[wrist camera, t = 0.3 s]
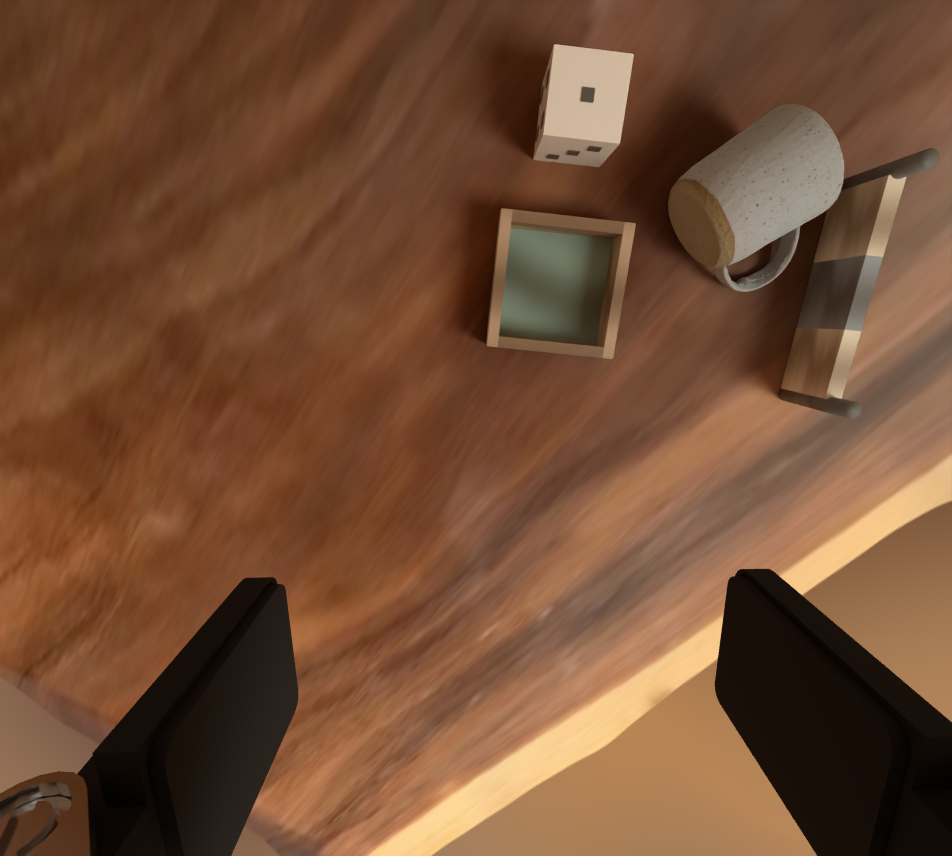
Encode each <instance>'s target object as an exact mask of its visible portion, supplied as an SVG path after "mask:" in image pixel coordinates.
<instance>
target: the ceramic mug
mask: <svg viewBox="0 0 952 856" xmlns="http://www.w3.org/2000/svg"><path fill="white" fill-rule="evenodd" d="M843 180H844V160H843V155H842V151H841V149H840V144H839V142H838V140H837V137H836V136H835V134H834V132H833V131H832V129H831V128H830V126H829V125H828V124H827V123H826V121H825V120H824V119H823V118H822V117H821V116H820V115H819V114H817V113H816V112H815V111H813V110H812V109H809V108H807V107H805V106H802V105H799V104H784V105H781V106H778V107H776V108H774V109H772V110H771V111H769V112H768V113H766V114H765V115H764V116H762V117H761V118H760V119H758V120H757V121H756V122H754V123H753V124H751V125H750V126H749V127H747V128H746V129H744V130H743V131H741V132H740V133H739V134H737V135H736V136H734V137H733V138H731V139H730V140H729V141H727V142H726V143H725V144H723V145H722V146H721V147H719V148H718V149H716V150H715V151H714V152H712V153H711V154H709V155H708V156H707V157H705V158H704V159H702V160H701V161H699V162H698V163H696V164H695V165H694V166H692V167H691V168H690V169H689V170H688V171H687V172H686V173H685V174H683V175H682V176H681V177H680V178H679V179H678V180H677V181H676V183H675V184H674V185H673V187H672V188H671V191H670V195H669V201H668V212H669V217H670V221H671V223H672V226H673V229H674V231H675V233H676V235H677V237H678V239H679V241H680V242H681V244H682V245H683V247H684V248H685V250H686V251H687V252H688V253H689V254H690V255H691V256H692V257H693V258H694V259H695V260H696V261H698V262H699V263H701V264H703V265H705V266H708V267H712V268H713V271H714V274H715V275H716V277H717V278H718V280H719V281H720V282H721V283H722V284H724V285H725V286H727V287H728V288H730V289H733V290H736V291H743V292H748V291H753V290H756V289H759V288H761V287H763V286H765V285H767V284H768V283H770V282H771V281H773V280H774V279H775V278H777V277H778V276H779V275H780V274H781V273H782V272H783V270H784V269H785V268H786V267H787V265H788V264H789V262H790V260H791V258H792V256H793V254H794V252H795V249H796V246H797V243H798V239H799V232H800V226H801V225H802V224H804V223H806V222H808V221H810V220H811V219H813V218H815V217H817V216H818V215H820V214H822V213H823V212H824V211H826V210H827V209H829V208H830V207H831V206H832V204H833V203H834V202H835V201H836V200H837V198H838V196H839V194H840V192H841V188H842V185H843ZM780 237H781V239H780V243H779V246H778V248H777V250H776V253H775V255H774V256H773V258H772V260H771V261H770V262H769V263H768V264H767V265H766V266H765V267H764V268H763V269H761V270H759V271H757V272H755V273H754V274H752V275H750V276H747V277H742V278H741V279H739V280H738V281H736V282H733V281H731V278H730V276H729V274H728V270H727V268H726V266H728V265H731V264H733V263H736V262H738V261H740V260H742V259H744V258H746V257H748V256H749V255H751V254H753V253H754V252H756V251H758V250H759V249H761V248H762V247H764V246H765V245H767V244H769V243H770V242H772V241H774V240H776V239H778V238H780Z"/></svg>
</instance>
